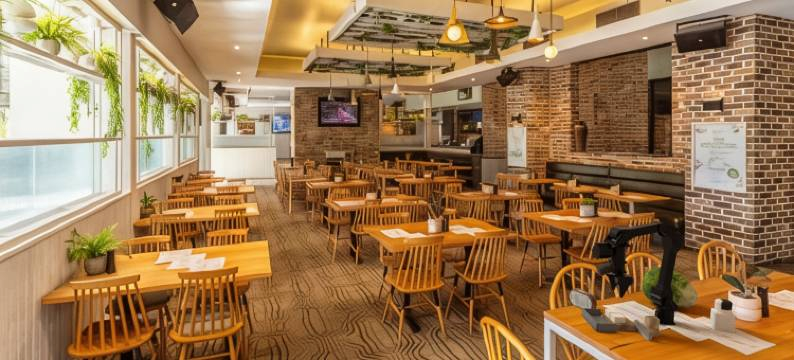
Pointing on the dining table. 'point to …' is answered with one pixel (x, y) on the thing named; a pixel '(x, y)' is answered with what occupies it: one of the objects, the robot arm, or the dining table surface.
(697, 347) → the dining table surface
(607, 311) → the tile
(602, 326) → the tray
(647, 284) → the lettuce
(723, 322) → the medicine bottle
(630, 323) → the board
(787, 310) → the dining table surface
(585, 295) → the tin
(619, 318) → the tile
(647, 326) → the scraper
